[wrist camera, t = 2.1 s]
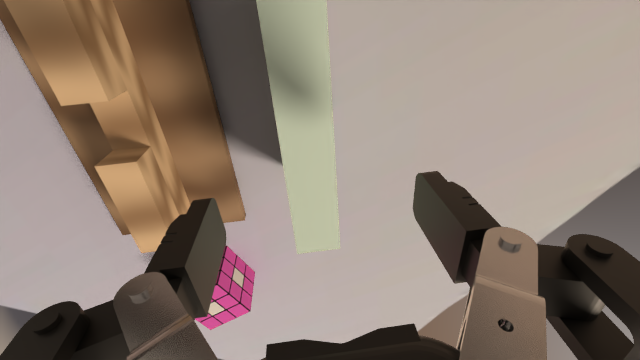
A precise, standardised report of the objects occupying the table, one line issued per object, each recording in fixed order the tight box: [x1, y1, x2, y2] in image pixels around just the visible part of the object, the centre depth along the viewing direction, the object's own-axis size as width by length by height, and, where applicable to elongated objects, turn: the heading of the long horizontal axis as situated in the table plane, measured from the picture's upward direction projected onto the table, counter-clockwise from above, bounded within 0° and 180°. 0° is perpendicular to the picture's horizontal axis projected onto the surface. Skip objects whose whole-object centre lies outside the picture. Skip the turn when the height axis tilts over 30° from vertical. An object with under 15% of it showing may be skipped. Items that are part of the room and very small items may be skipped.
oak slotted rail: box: [0, 0, 246, 253], centre depth 23 cm, size 26×13×6 cm, turn 5°
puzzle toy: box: [195, 246, 255, 330], centre depth 35 cm, size 6×6×6 cm
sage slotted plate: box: [256, 0, 340, 254], centre depth 21 cm, size 16×3×12 cm, turn 5°
